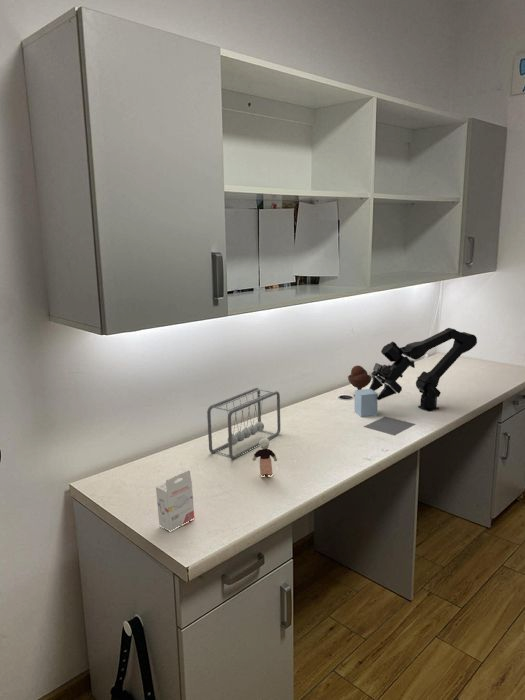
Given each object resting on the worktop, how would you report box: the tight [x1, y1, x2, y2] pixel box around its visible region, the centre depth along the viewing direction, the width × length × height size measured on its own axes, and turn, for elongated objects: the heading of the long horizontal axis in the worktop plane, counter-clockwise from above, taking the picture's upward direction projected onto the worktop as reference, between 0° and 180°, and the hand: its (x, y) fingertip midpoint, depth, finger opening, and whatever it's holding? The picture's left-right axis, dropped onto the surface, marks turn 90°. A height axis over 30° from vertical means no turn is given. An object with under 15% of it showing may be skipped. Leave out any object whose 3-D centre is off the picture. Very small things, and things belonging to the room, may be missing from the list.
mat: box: [363, 416, 416, 436], centre depth 207 cm, size 16×14×1 cm
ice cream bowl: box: [347, 365, 373, 398], centre depth 245 cm, size 11×11×15 cm
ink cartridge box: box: [155, 469, 195, 531], centre depth 139 cm, size 9×5×15 cm, turn 138°
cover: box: [354, 388, 379, 418], centre depth 220 cm, size 7×7×10 cm
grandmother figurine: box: [252, 437, 278, 476], centre depth 166 cm, size 8×4×13 cm, turn 99°
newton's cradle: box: [206, 387, 281, 460], centre depth 192 cm, size 30×10×18 cm, turn 143°
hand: (372, 396), depth 220 cm, fingers open, 9 cm apart
